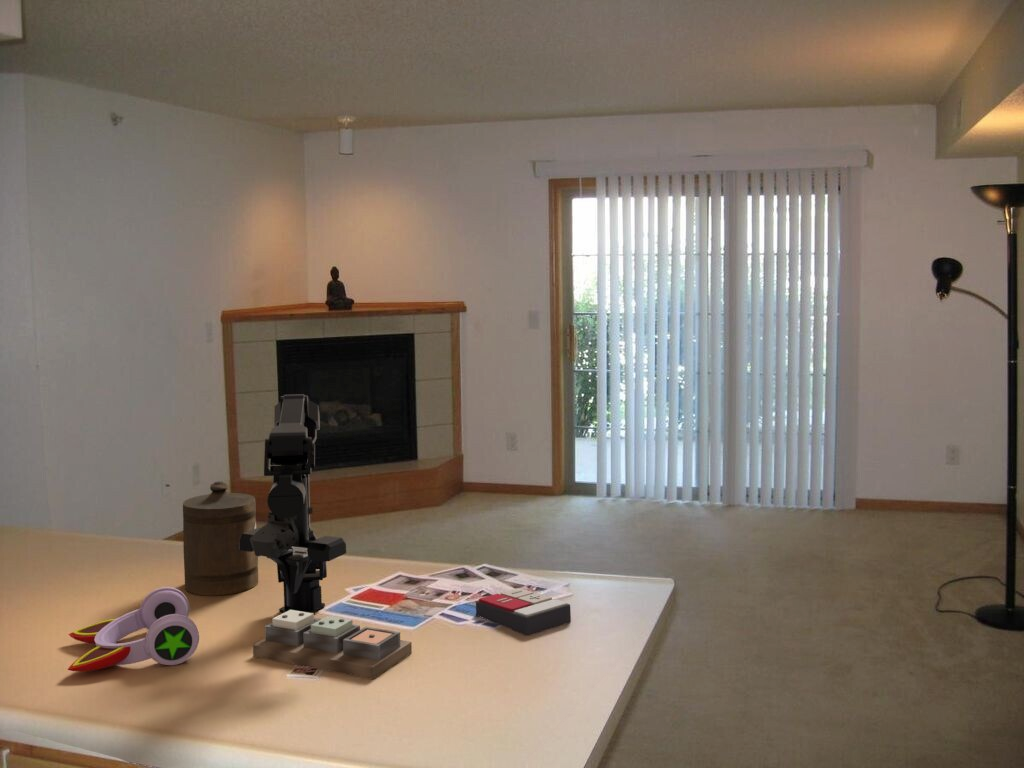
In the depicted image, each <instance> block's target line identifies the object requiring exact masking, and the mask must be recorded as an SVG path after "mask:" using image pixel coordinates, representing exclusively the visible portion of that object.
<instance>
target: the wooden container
mask: <svg viewBox="0 0 1024 768" xmlns="http://www.w3.org/2000/svg"><path fill="white" fill-rule="evenodd" d="M209 489H210V491H211V493H209V494H203V495H197V496H193V497H189V498H187V499H186V500H184V501H183V502H182V521H183V522H182V523H183V525H182V527H183V529H182V530H183V531H182V533H183V543H182V545H183V573H184V589H185V590H186V591H187V592H188V593H190V594H194V595H198V596H203V597H204V596H205V597H207V596H208V597H209V596H212V597H215V596H217V597H218V596H227V595H232V594H233V595H234V594H238V593H241V592H246V591H248V590H251V589H253V588H254V587H256V586H257V585H258V584H259V556H255V553H254V551H252V552H249V551H241V550H239V539H240V537H241V535H242V533H245V532H248V531H251V530H253V529H256V528H257V520H256V519H257V517H256V513H257V511H256V509H257V507H256V506H257V505H256V502H257V501H256V497H255V496H254V495H251V494H247V493H240V492H227V490H228V489H229V486H228V484H227V483H225V482H223V481H222V480H220V481H214V482H213V483H211V484H210V487H209Z"/></svg>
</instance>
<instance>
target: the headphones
mask: <svg viewBox="0 0 1024 768" xmlns="http://www.w3.org/2000/svg"><path fill="white" fill-rule="evenodd" d="M189 615H190V603H189V599H188V598H187V596H186V595H185V594H184V592H183V591H181V590H180V589H178V588H176V587H172V586H163V587H158V588H156V589H154V590H152V591H151V592H149V593H147V595H146V596H145V597H144V599H143V600H142V601H141V604H140V607H139V608H138V609H135V610H132V611H130V612H127V613H125V614H122V615H121V616H119V617H116V618H111V619H110V618H109V619H107V620H103V621H100V622H96V623H94V624H90V625H87V626H84V627H82V628H79V629H78V630H74V631H72V632H70V633H68V636H70V637H71V638H72V639H74V640H76V641H79V642H82V643H86V644H91V645H93V644H94V645H95V646H96V647H93V648H92V649H90V650H88V651H87V652H86V653H84V654H83V655H81V656H80V657H79V658H78V659H76V660H75V661H74V662H72V664H70V666H69V667H68V668H67V671H71V672H79V673H80V672H89V671H90V672H91V671H97V670H101V669H106V668H110V667H113V666H124V665H125V666H126V665H131V664H136V663H140V662H144V661H148V660H150V659H152V660H154V661H155V662H156V663H158V664H161V665H165V666H176V665H179V664H183V663H184V662H186V661H187V660H188V659H190V658H191V656H193V654H194V653H195V652H196V650H197V648H198V645H199V642H200V634H199V633H200V632H199V629H198V627H197V625H196V623H195V622H194V621H193V620H192V618H190V617H189ZM145 628H146V629H147V633H146V635H145V637H143V638H140V639H136V640H133V641H129V642H122V643H121V642H120V643H118V642H119V641H120V640H122V639H124V638H125V637H127V636H128V635H131V634H133V633H136V632H138V631H140V630H142V629H145Z"/></svg>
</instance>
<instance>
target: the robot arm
mask: <svg viewBox="0 0 1024 768" xmlns="http://www.w3.org/2000/svg"><path fill="white" fill-rule="evenodd" d="M319 408H320V407H319V404H317V403H316V402H314V401H312V400H310V399H309V396H308V395H305V394H304V393H302V394H301V393H300V394H299V393H298V394H297V393H296V394H283V395H282V396H280V401H279V402H278V403H277V404H276V405H274V407H273V412H274V413H273V415H274V417H273V425H274V427H272V428H271V429H270V431H269V434H268V438H265V439H264V457H263V458H264V460H263V461H264V463H263V476H264V477H272V485H271V488H270V490H269V492H268V496H267V499H266V501H267V507H268V510H269V511H268V515H267V523H266V524H265V525H263V526H261V527H256V529H253V530H251V531H248V532H245V533H242V535H241V537H240V539H239V550H241V551H249V552H252V551H254V553H255V556H258V557H266V558H267V559H269V560H271V561H273V562H274V563H275V564H276V568H277V571H276V572H277V581H278V584H279V583H282V584H283V604H284V605H283V606H282V607H280V608H278V611H279V613H280V612H281V613H285V612H287V611H289V610H296V611H302V612H308V613H314V612H316V611H318V610H320V609H323V608H324V607H326V603H324V602H322V601H323V599H322V586H321V585H320V581H323V580H324V579H325V578H327V577H328V575H327V574H328V573H327V572H328V571H327V562H330V561H333V560H335V559H337V558H338V557H341V556H343V555H346V554H347V544H346V543H347V542H346V541H345V540H344V538H343V537H340V536H339V537H338V536H330V535H324V536H321V537H319V538H317V536H316V534H315V533H314V530H312V528H311V514H313V512H314V511H313V507H311V506H310V505H311V500H310V499H311V497H310V495H311V493H310V490H311V489H310V475H312V469H315V468H316V467H315V466H316V444H315V443H316V442H317V441H316V440H317V438H318V437H317V436H318V435H317V431H320V428H321V424H320V423H321V420H320V419H321V418H320V416H321V415H320V409H319Z"/></svg>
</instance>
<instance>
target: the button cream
mask: <svg viewBox="0 0 1024 768" xmlns="http://www.w3.org/2000/svg"><path fill="white" fill-rule="evenodd" d="M314 618H315V614H314V612H313V613H308V612H302V611H296V610H289V611H287V612H282V613H281V614H279V615H277V616H274V617H273V618H272V620H271V621H272V622H271V623H273V626H275V627H281V628H286V629H292V630H298V629H300V628H302V627H304V626H306V625H308V624H310V623H311V622H313V621H314Z"/></svg>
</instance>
